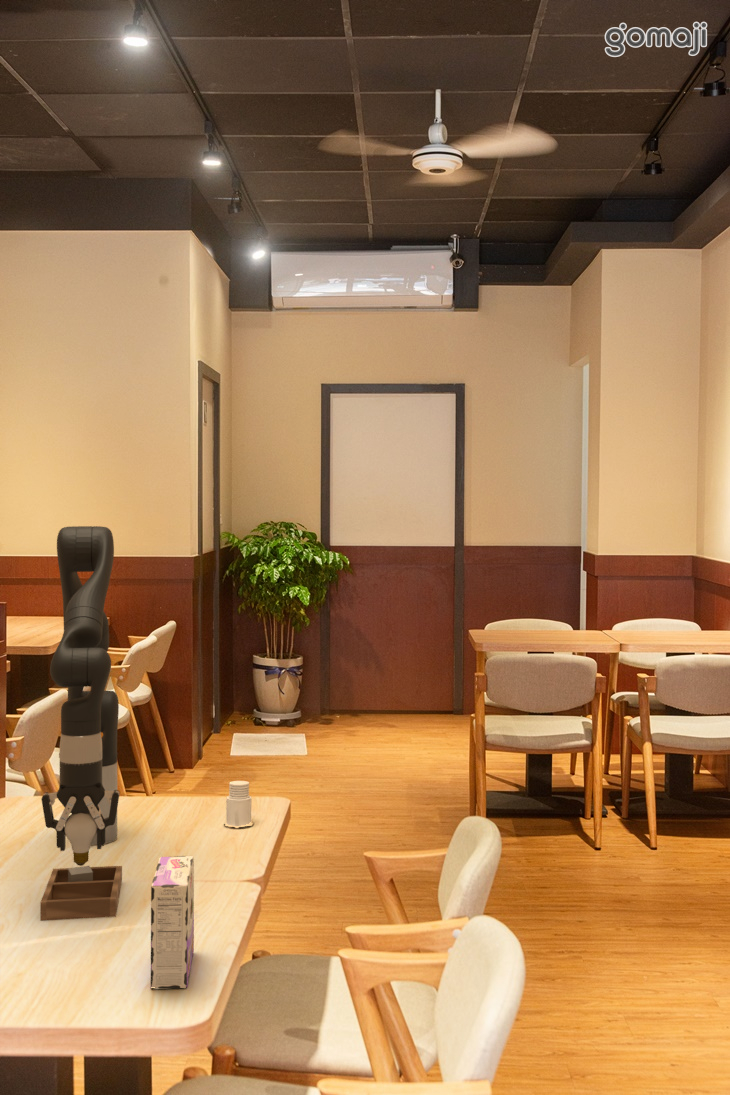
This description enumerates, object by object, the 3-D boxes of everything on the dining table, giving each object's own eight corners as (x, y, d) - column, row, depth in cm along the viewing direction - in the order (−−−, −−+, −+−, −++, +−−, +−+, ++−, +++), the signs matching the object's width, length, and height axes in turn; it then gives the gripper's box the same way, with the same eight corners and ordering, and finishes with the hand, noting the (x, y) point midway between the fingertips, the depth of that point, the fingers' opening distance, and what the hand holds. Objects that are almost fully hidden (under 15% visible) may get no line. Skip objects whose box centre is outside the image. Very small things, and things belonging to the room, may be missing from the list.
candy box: (159, 953, 177) (159, 855, 176) (194, 952, 177) (195, 854, 177) (149, 990, 163) (149, 884, 163) (188, 989, 164) (188, 883, 163)
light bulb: (88, 871, 191) (88, 816, 190) (58, 869, 192) (58, 814, 192) (103, 861, 196) (103, 807, 196) (73, 859, 198) (73, 805, 197)
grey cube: (67, 889, 204) (67, 868, 204) (89, 886, 206) (89, 865, 206) (71, 895, 201) (71, 874, 200) (92, 892, 202) (92, 872, 202)
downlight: (251, 830, 246) (252, 786, 246) (221, 829, 246) (221, 786, 246) (255, 821, 254) (256, 779, 254) (226, 821, 254) (226, 779, 254)
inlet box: (53, 889, 206) (53, 868, 206) (121, 885, 208) (121, 865, 208) (40, 924, 188) (40, 902, 188) (115, 920, 191) (115, 898, 190)
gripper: (122, 751, 199) (122, 841, 199) (42, 753, 196) (42, 844, 197) (120, 760, 191) (120, 853, 192) (37, 763, 189) (37, 857, 189)
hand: (81, 848), depth 194 cm, fingers closed on light bulb, 6 cm apart
